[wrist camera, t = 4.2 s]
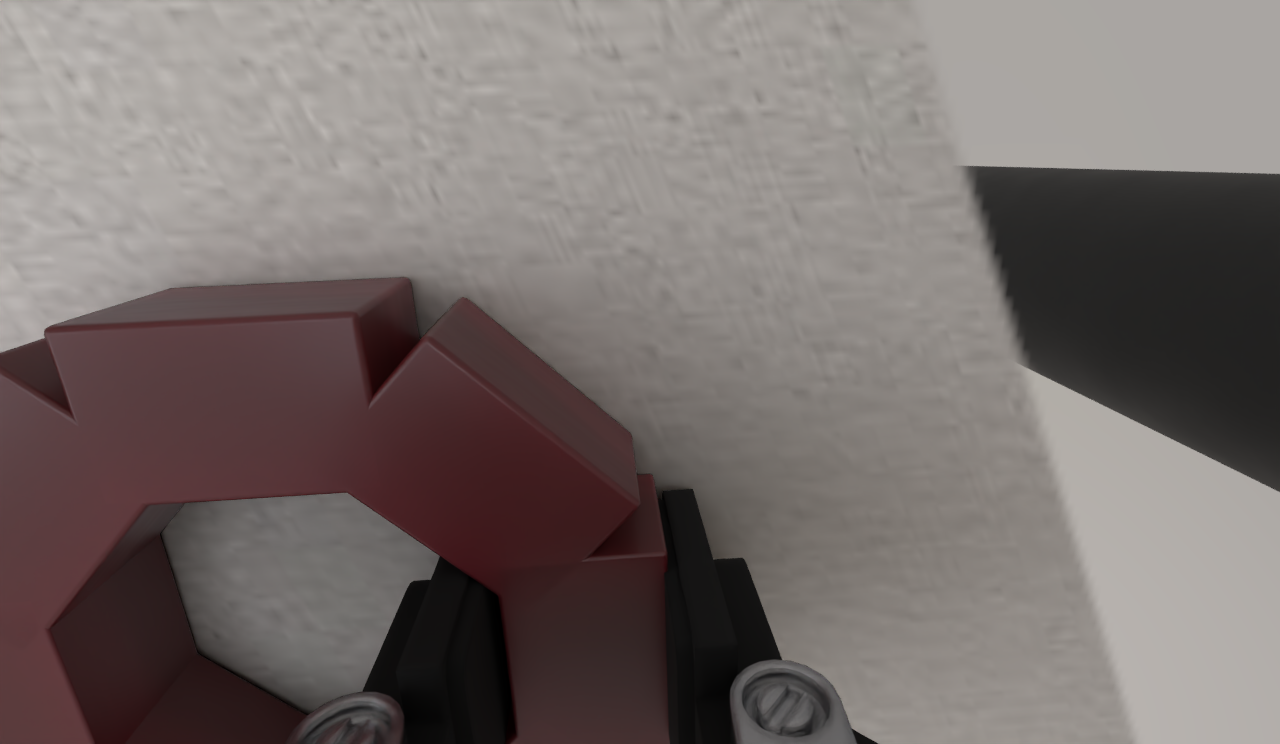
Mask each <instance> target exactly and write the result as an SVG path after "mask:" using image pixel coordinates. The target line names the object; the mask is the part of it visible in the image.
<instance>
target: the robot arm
mask: <svg viewBox="0 0 1280 744" xmlns="http://www.w3.org/2000/svg"><path fill="white" fill-rule="evenodd" d="M658 504H659V509H660V515H661V520H662V526H663V531H664V537H665V542H666V548H667V553H668V571H667V572H665V573H664V581H665V617H666V652H667V687H668V722H669V740H670V744H878V743H876V742H874V741H872V740H871V739H869V738H867V737H865V736H864V735H862V734H860V733H858V732H856V731H855V730H853V729H851V726H850V723H849V720H848V718H847V715H846V712H845V710H844V707H843V704H842V701H841V699H840V697H839V695H838V694H837V692H836V690H835V688H834V687H833V685H832V684H831V683H830V682H829V681H828V680H827V679H826V678H825V677H824V676H823V675H821V674H820V673H818V672H816V671H815V670H813V669H811V668H810V667H808V666H806V665H802V664H799V663H796V662H793V661H787V660H782V659H781V656H780V653H779V651H778V648H777V645H776V642H775V640H774V637H773V634H772V632H771V629H770V626H769V623H768V621H767V618H766V615H765V613H764V610H763V607H762V605H761V602H760V599H759V596H758V594H757V591H756V588H755V586H754V583H753V580H752V577H751V575H750V572H749V569H748V567H747V564H746V562H745V560H744V559H743V558H732V559H717V560H713V557H712V554H711V550H710V547H709V543H708V540H707V536H706V533H705V529H704V526H703V523H702V519H701V516H700V512H699V509H698V505H697V502H696V498H695V495H694V492H693V489H684V490H669V491H663V493H662V499H658ZM511 701H512V700H511V692H510V684H509V676H508V669H507V661H506V653H505V645H504V637H503V629H502V622H501V614H500V606H499V598H498V595H496V594H495V593H493V592H492V591H490V590H489V589H487V588H486V587H485V586H483V585H482V584H480V583H479V582H477V581H476V580H474V579H473V578H471V577H470V576H468V575H467V574H466V573H464V572H463V571H461V570H460V569H458V568H457V567H455V566H454V565H452V564H451V563H449V562H448V561H446V560H445V559H444V558H442V557H441V556H440V558H439V561H438V563H437V566H436V568H435V571H434V574H433V576H432V579H431V580H419V581H413V582H411V583H410V585H409V586H408V588H407V590H406V592H405V595H404V597H403V599H402V602H401V604H400V606H399V609H398V611H397V613H396V615H395V618H394V620H393V622H392V625H391V627H390V629H389V632H388V634H387V636H386V638H385V641H384V643H383V645H382V648H381V650H380V652H379V655H378V657H377V659H376V661H375V664H374V666H373V668H372V671H371V673H370V675H369V678H368V680H367V682H366V684H365V687H364V689H363V691H362V692H358V693H353V694H349V695H345V696H341V697H339V698H337V699H335V700H332V701H330V702H328V703H326V704H324V705H322V706H321V707H319V708H318V709H316V710H315V711H313V712H312V713H310V714H309V715H307V716H306V717H305V718H304V719H303V720H302V721H301V722H300V723H299V724H298V725H297V726H296V727H295V728H294V729H293V731H292V732H291V734H290V736H289V737H288V739H287V740H286V742H285V743H284V744H505V740H506V733H507V727H508V720H509V714H510V707H511Z"/></svg>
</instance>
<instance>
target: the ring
mask: <svg viewBox="0 0 1280 744" xmlns="http://www.w3.org/2000/svg"><path fill="white" fill-rule="evenodd" d="M44 336H45V338H44V339H41V340H38V341H35V342H32V343H29V344H26V345H23V346H20V347H17V348H14V349H11V350H8V351H5V352H2V353H0V744H284V743H285V742H286V740H287V739H288V737H289V736H290V734H291V732H292V731H293V729H294V728H295V727H296V726H297V725H298V724H299V723H300V722H301V721H302V720H303V719H304V718H305V717H306V716H307V715H305V714H303V713H302V712H300V711H298V710H296V709H295V708H293V707H291V706H289V705H288V704H286V703H284V702H282V701H280V700H279V699H277V698H275V697H273V696H272V695H270V694H268V693H266V692H265V691H263V690H261V689H259V688H257V687H256V686H254V685H252V684H250V683H249V682H247V681H245V680H243V679H242V678H240V677H238V676H236V675H235V674H233V673H231V672H229V671H227V670H226V669H224V668H222V667H220V666H219V665H217V664H215V663H213V662H212V661H210V660H208V659H206V658H204V657H203V656H201V655H199V654H198V653H197V650H196V646H195V643H194V640H193V637H192V634H191V631H190V628H189V624H188V621H187V618H186V615H185V612H184V609H183V606H182V602H181V599H180V596H179V593H178V590H177V587H176V583H175V580H174V577H173V574H172V571H171V568H170V565H169V561H168V558H167V555H166V552H165V549H164V546H163V543H162V539H161V536H160V533H161V532H162V530H163V529H164V528H165V527H166V525H167V524H168V523H169V522H170V521H171V519H172V518H173V517H174V516H175V514H176V513H177V512H178V511H179V509H180V508H181V507H182V506H183V505H184V503H190V502H206V501H221V500H237V499H253V498H268V497H284V496H300V495H315V494H331V493H348V494H350V495H351V496H353V497H354V498H356V499H357V500H359V501H360V502H362V503H363V504H365V505H366V506H367V507H369V508H370V509H372V510H373V511H375V512H376V513H378V514H379V515H381V516H382V517H384V518H385V519H387V520H388V521H389V522H391V523H392V524H394V525H395V526H397V527H398V528H400V529H401V530H403V531H404V532H406V533H407V534H408V535H410V536H411V537H413V538H414V539H416V540H417V541H419V542H420V543H422V544H423V545H425V546H426V547H427V548H429V549H430V550H432V551H433V552H435V553H436V554H438V555H439V556H441V557H442V558H444V559H445V560H446V561H448V562H449V563H451V564H452V565H454V566H455V567H457V568H458V569H460V570H461V571H463V572H464V573H466V574H467V575H468V576H470V577H471V578H473V579H474V580H476V581H477V582H479V583H480V584H482V585H483V586H485V587H486V588H487V589H489V590H490V591H492V592H493V593H495V594H496V595H498V598H499V606H500V614H501V622H502V629H503V637H504V645H505V653H506V661H507V669H508V676H509V684H510V692H511V700H512V701H511V707H510V714H509V720H508V727H507V733H506V740H505V744H670V740H669V722H668V687H667V652H666V617H665V581H664V573H665V572H667V571H668V553H667V548H666V542H665V537H664V531H663V526H662V520H661V515H660V509H659V504H658V498H657V493H656V487H655V482H654V477H653V475H651V474H642V475H637V472H636V464H635V457H634V449H633V442H632V436H631V434H630V432H628V431H627V430H626V429H625V428H624V427H622V426H621V425H620V424H619V423H618V422H616V421H615V420H614V419H613V418H611V417H610V416H609V415H608V414H607V413H605V412H604V411H603V410H602V409H601V408H599V407H598V406H597V405H596V404H594V403H593V402H592V401H591V400H590V399H588V398H587V397H586V396H585V395H584V394H582V393H581V392H580V391H579V390H577V389H576V388H575V387H574V386H573V385H571V384H570V383H569V382H568V381H567V380H565V379H564V378H563V377H562V376H560V375H559V374H558V373H557V372H556V371H554V370H553V369H552V368H551V367H550V366H548V365H547V364H546V363H545V362H544V361H542V360H541V359H540V358H539V357H537V356H536V355H535V354H534V353H533V352H531V351H530V350H529V349H528V348H527V347H525V346H524V345H523V344H522V343H520V342H519V341H518V340H517V339H516V338H514V337H513V336H512V335H511V334H510V333H508V332H507V331H506V330H505V329H503V328H502V327H501V326H500V325H499V324H497V323H496V322H495V321H494V320H493V319H491V318H490V317H489V316H488V315H486V314H485V313H484V312H483V311H482V310H480V309H479V308H478V307H477V306H476V305H474V304H473V303H472V302H471V301H469V300H468V299H467V298H464V297H462V298H460V299H458V300H457V301H456V302H455V303H454V304H453V305H452V306H451V308H450V309H449V310H448V311H447V312H446V313H445V314H444V315H443V316H442V317H441V318H440V319H439V320H438V321H437V322H436V323H435V324H434V325H433V326H432V327H431V328H430V329H429V331H428V332H427V333H426V334H425V335H424V336H423V337H422V338H421V339H419V333H418V326H417V320H416V313H415V306H414V300H413V293H412V287H411V282H410V280H409V279H407V278H404V277H399V278H378V279H357V280H336V281H315V282H293V283H272V284H251V285H230V286H209V287H187V288H170V289H167V290H164V291H160V292H157V293H154V294H151V295H148V296H144V297H141V298H138V299H135V300H131V301H128V302H125V303H122V304H119V305H115V306H112V307H109V308H106V309H103V310H99V311H96V312H93V313H90V314H86V315H83V316H80V317H77V318H74V319H70V320H67V321H64V322H61V323H58V324H54V325H51V326H49V327H47V328H46V329H45V331H44Z"/></svg>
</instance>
